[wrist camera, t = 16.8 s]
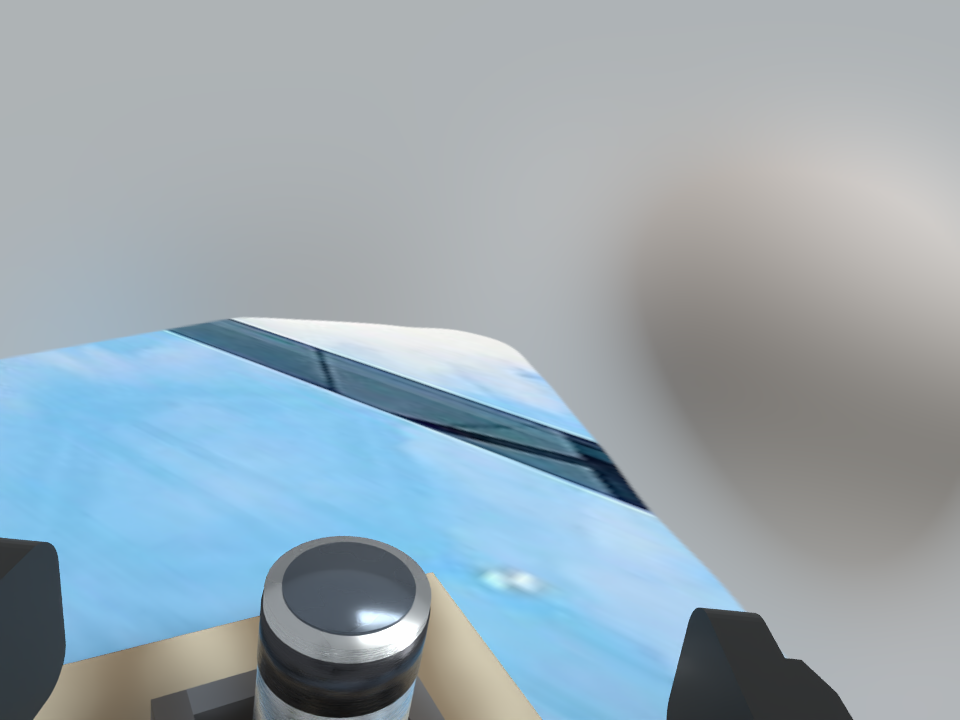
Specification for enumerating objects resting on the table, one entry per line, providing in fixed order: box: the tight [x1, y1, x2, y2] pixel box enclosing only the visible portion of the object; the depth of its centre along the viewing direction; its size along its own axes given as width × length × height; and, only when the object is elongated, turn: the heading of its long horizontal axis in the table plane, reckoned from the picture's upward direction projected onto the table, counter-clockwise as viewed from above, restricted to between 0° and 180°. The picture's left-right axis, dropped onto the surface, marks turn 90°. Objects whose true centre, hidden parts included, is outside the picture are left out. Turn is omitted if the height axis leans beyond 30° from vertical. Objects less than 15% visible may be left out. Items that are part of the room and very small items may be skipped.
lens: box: [253, 536, 432, 720], centre depth 24 cm, size 5×5×10 cm
